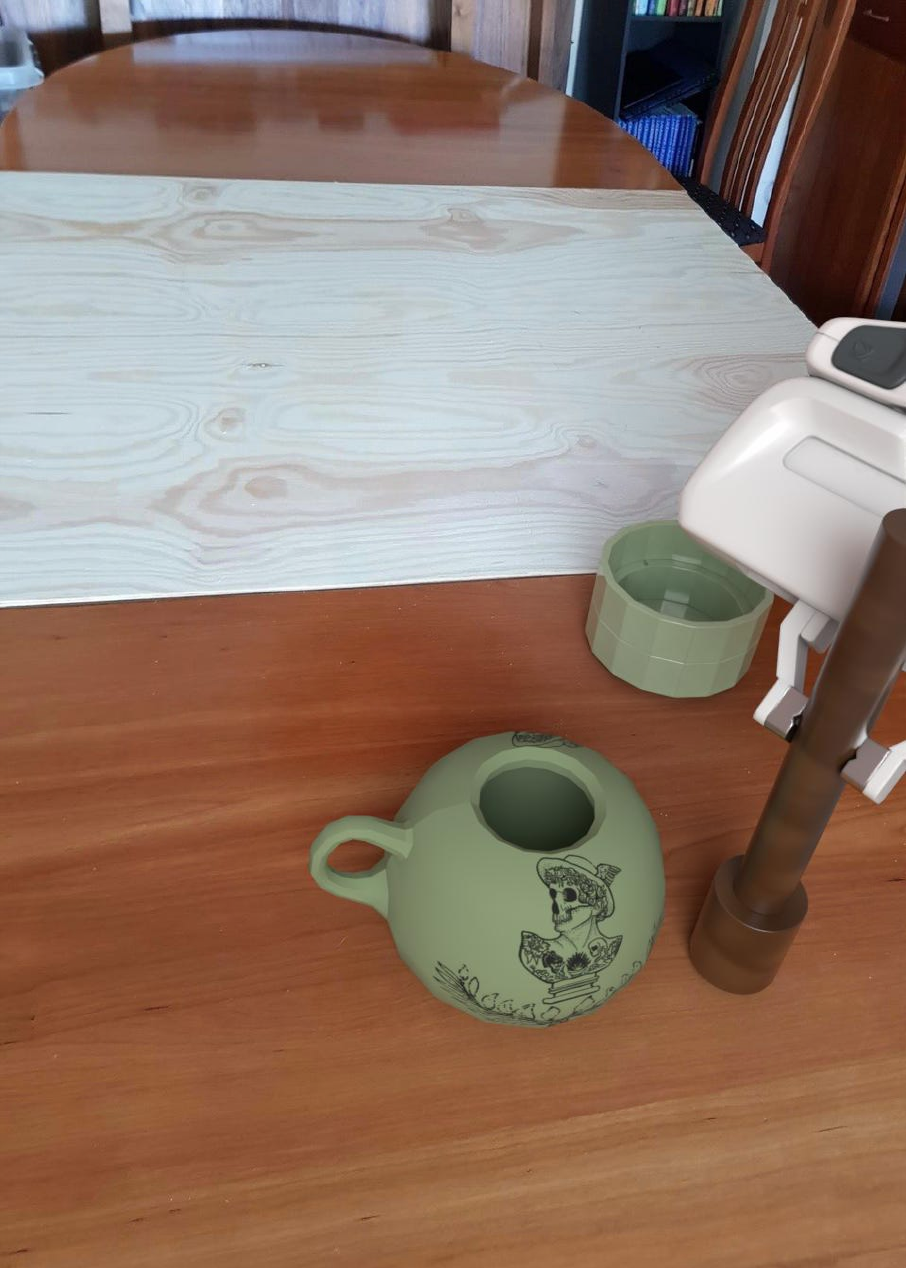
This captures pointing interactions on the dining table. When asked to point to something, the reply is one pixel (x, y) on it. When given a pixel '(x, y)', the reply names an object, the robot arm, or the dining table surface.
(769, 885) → the wooden pestle
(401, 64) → the dining table surface
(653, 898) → the mug
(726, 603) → the bowl
